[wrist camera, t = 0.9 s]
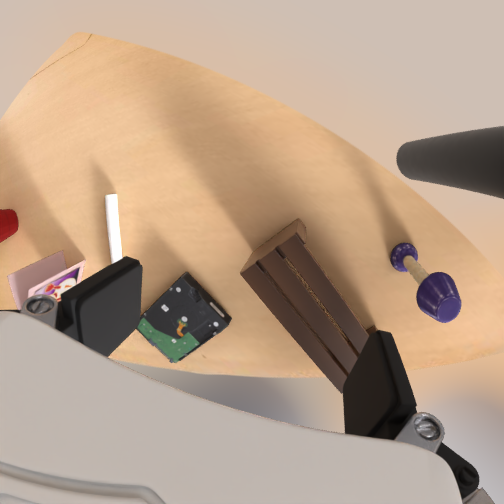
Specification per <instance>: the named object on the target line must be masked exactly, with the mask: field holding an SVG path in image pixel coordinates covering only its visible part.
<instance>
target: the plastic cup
mask: <svg viewBox="0 0 504 504" xmlns="http://www.w3.org/2000/svg"><path fill="white" fill-rule="evenodd" d="M17 230H18V218H17V215H16V213H15V211H14V210H10V209H5V210H2V209H0V243H1V242H2V241H4V240H5V239H7V238H8V237H10V236H11V235H13V234H14V233H16V231H17Z"/></svg>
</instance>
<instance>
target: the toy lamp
mask: <svg viewBox="0 0 504 504" xmlns="http://www.w3.org/2000/svg"><path fill="white" fill-rule="evenodd" d="M390 259H391V264H392V266H393V267H394V268H395V269H396V270H398V271H401V272H407V271H409V272H410V274H411V275H412V276H413V278H414V279H415V281H416V282H417V283H418V284H419V288H418V291H417V296H416V298H417V304H418V306H419V308H420V309H421V310H422V311H423V312H424V313H426V314H427V315H429V316H430V317H432V318H434V319H436V320H437V321H439V322H442V323H447V322H450V321H452V320H453V319H455V318H456V317H457V315H458V314H459V312H460V309H461V299H460V296H459V293H458V290H457V288H456V285H455V283H454V281H453V279H452V278H451V277H450V276H449V275H448V274H446V273H443V272H435V273H432V274H430V275H429V274H428V273H427V272H426V271H425V270H424V269H423V268H422V266H421V265H420V264H418V262H417V260H418V254H417V250H416V249H415V247H414V246H413V245H411V244H410V243H401V244H399V245H397V246H396V247H395V248H394V249H393V251H392V253H391V258H390Z"/></svg>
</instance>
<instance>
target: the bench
mask: <svg viewBox="0 0 504 504" xmlns="http://www.w3.org/2000/svg"><path fill="white" fill-rule="evenodd" d="M305 244H306V227H305V225H304V224H303V223H302V221H301V220H300V219H299V218H298V219H297V220H296V221H294V222H293V223H292V224H290V225H289V226H287V227H286V228H285V229H283V230H282V231H281V232H279V233H278V234H277V235H275V236H274V237H272V238H271V239H270V240H268V241H267V242H266V243H264V244H263V245H262V246H260V247H259V248H257V249H256V250H255V251H253V253H252V254H251V256H250V258H249V259H248V261H247V263H246V264H245V266H244V267H243V269H242V271H241V272H240V274H241V276H242V277H243V278H244V279H245V280H246V282H247V283H248V284H249V285H250V287H251V288H252V289H253V290H254V291H255V293H256V294H257V295H258V296H259V297H260V299H261V300H262V301H263V302H264V303H265V305H266V306H267V307H268V308H269V309H270V311H271V312H272V313H273V314H274V315H275V317H276V318H277V319H278V320H279V321H280V323H281V324H282V325H283V326H284V327H285V329H286V330H287V331H288V332H289V333H290V334H291V336H292V337H293V338H294V339H295V340H296V342H297V343H298V344H299V345H300V346H301V347H302V349H303V350H304V351H305V352H306V353H307V354H308V356H309V357H310V358H311V359H312V360H313V361H314V363H315V364H316V365H317V366H318V367H319V368H320V370H321V371H322V372H323V373H324V374H325V375H326V377H327V378H328V379H329V380H330V381H331V382H332V383H333V385H334V386H335V387H336V388H337V389H338V390H339V391H340V393H343V385H344V383H345V381H346V379H347V377H348V375H349V374H350V372H351V370H352V368H353V366H354V364H355V363H356V361H357V359H358V357H359V355H360V353H361V351H362V349H363V347H364V345H365V343H366V341H367V339H368V337H369V335H370V334H371V333H372V332H374V333H375V332H376V330H377V328H376V327H375V326H373V327H372V328H370V329H369V330H367V331H366V330H365V329H364V327H363V326H362V324H361V323H360V322H359V320H358V319H357V317H356V316H355V314H354V313H353V312H352V310H351V309H350V307H349V306H348V304H347V303H346V302H345V300H344V299H343V297H342V296H341V294H340V293H339V292H338V290H337V289H336V287H335V286H334V285H333V283H332V282H331V281H330V279H329V278H328V276H327V275H326V274H325V272H324V271H323V270H322V268H321V267H320V265H319V264H318V263H317V261H316V260H315V259H314V257H313V256H312V255H311V253H310V252H309V251H308V249H307V248H306V247H305ZM286 257H287V258H288V259H289V260H290V262H291V263H292V264H293V266H294V267H295V268H296V269H297V271H298V272H299V273H300V275H301V276H302V277H303V279H304V280H305V281H306V283H307V284H308V285H309V286H310V288H311V289H312V290H313V292H314V293H315V294H316V296H317V297H318V298H319V300H320V301H321V302H322V304H323V305H324V306H325V308H326V309H327V310H328V312H329V313H330V314H331V316H332V317H333V318H334V320H335V321H336V322H337V324H338V325H339V326H340V328H341V329H342V330H343V332H344V333H345V335H346V336H347V337H348V339H349V340H350V341H348V342H347V341H346V340H345V338H344V337H343V336H342V334H341V333H340V332H339V330H338V329H337V328H336V326H335V325H334V324H333V322H332V321H331V320H330V318H329V317H328V316H327V314H326V313H325V312H324V310H323V309H322V308H321V306H320V305H319V304H318V303H317V301H316V300H315V299H314V297H313V296H312V295H311V293H310V292H309V291H308V289H307V288H306V287H305V285H304V284H303V283H302V282H301V280H300V279H299V278H298V276H297V275H296V274H295V272H294V271H293V270H292V269H291V267H290V266H289V265H288V263H287V262H286V261H285V260H284V259H285V258H286Z"/></svg>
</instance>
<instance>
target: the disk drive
mask: <svg viewBox="0 0 504 504" xmlns="http://www.w3.org/2000/svg"><path fill="white" fill-rule="evenodd" d="M231 319H232V318H231V317H230V316H229V315H228V314H227V313H226V311H225V310H224V309H223V308H222V307H221V306H220V305H219V304H218V303H217V302H216V301H215V300H214V299H213V298H212V297H211V296H210V295H209V294H208V293H207V292H206V291H205V290H204V289H203V288H202V287H201V286H200V285H199V284H198V282H197V281H196V280H195V279H194V278H193V277H191V275H190V274H189V273H188V272H186V273H185V274H183V275H182V276H181V277H180V278H179V279H178V280H177V281H176V282H175V283H174V284H173V285H172V286H171V287H170V288H169V289H168V290H167V291H166V292H165V293H164V294H163V295H162V296H161V297H160V298H159V299H158V300H157V301H156V302H155V303H154V304H153V305H152V306H151V307H150V308H149V309H148V310H147V311H146V312H145V313H144V314H143V315H142V316H141V317H140V323H139V325H138V327H137V328H136V329H137V330H138V331H139V332H140V333H141V334H142V335H143V336H144V337H145V338H146V339H147V340H148V341H149V343H151V345H153V346H155V347H156V348H157V349H158V350H159V351H160V352H161V353H162V354H163V355H164V356H165V357H166V358H168V359H170V361H169V362H171V363H173V362H174V363H176V362H178V361H181V360H182V359H183V358H185V357H186V356H187V355H189V354H190V353H192V352H193V351H195V350H196V349H197V348H199V347H200V346H201V345H203V344H204V343H205V342H207V341H208V340H210V339H211V338H213V337H214V336H215V335H217V334H218V333H220V332H221V331H222V330H223V329H225V328H226V327H227V326H228V325H229V323H230V321H231Z"/></svg>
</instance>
